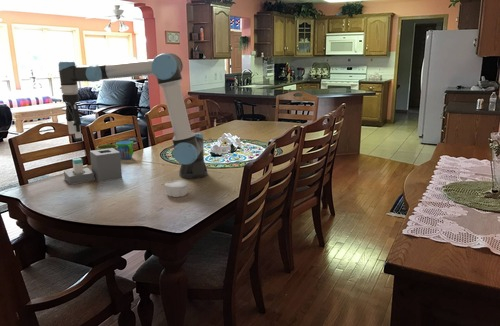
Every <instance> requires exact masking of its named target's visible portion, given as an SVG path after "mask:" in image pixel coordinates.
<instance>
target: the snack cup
mask: <svg viewBox="0 0 500 326" xmlns="http://www.w3.org/2000/svg"><path fill="white" fill-rule="evenodd" d="M134 144H135V143H134V141H133V140H119V141H116V142H115V144H114V145H117V146H118V147H117V151H119V152H120V159H121V160H128V159H131V158H132V157H133V154H134V150H133V146H134Z"/></svg>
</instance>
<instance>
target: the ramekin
mask: <svg viewBox="0 0 500 326" xmlns="http://www.w3.org/2000/svg"><path fill="white" fill-rule="evenodd" d="M189 186H190V185H189V182H188V181H186V180H181V179H175V180H169V181H166V182H165V183H164V187H165V193H166V195H167V196H168V195H169V196H168V197H171V196H173V198H180V197H179V196H181V197H184V196H186V195H187V194H188V189H189Z"/></svg>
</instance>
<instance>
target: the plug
mask: <svg viewBox="0 0 500 326" xmlns="http://www.w3.org/2000/svg"><path fill="white" fill-rule="evenodd" d="M71 160H72V170H74V174H79V173H84V170H83V168H84V162H83V159H82V158H81V157H76V158H72V159H71Z"/></svg>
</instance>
